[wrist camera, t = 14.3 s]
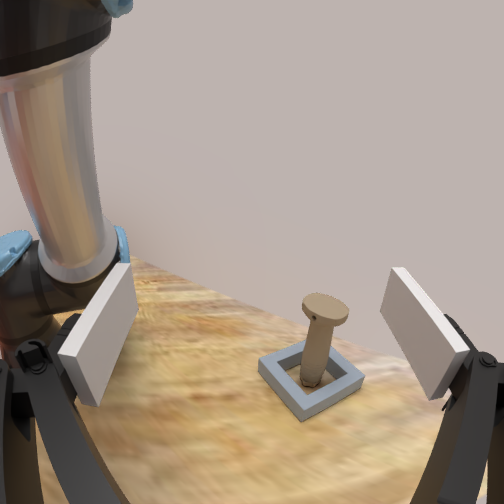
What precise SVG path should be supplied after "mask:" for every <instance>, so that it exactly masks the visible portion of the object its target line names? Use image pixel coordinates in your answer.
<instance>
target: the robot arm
mask: <svg viewBox="0 0 504 504" xmlns="http://www.w3.org/2000/svg"><path fill="white" fill-rule="evenodd" d="M132 8H133V0H0V127H1V130H2V134H3V138H4V141H5V144H6V148H7V151H8V155H9V158H10V161H11V164H12V167H13V170H14V173H15V175H16V179H17V181H18V184H19V187H20V190H21V192H22V195H23V198H24V200H25V203H26V205H27V208H28V210H29V213H30V215H31V217H32V220H33V222H34V224H35V227H36V229H37V231H38V233H39V236H40V240H36V241H33V240H32V236H31V235H30V233H29V232H28V231H26V230H24V231H22V230H19V231H14V232H11V233H8V234H6V235H4V236H1V237H0V350H1V355H2V359H0V504H44V501H43V495H42V489H41V483H40V475H39V467H38V458H37V446H36V430H35V418H36V421H37V425H38V428H39V431H40V434H41V437H42V440H43V442H44V445H45V448H46V451H47V453H48V456H49V459H50V461H51V464H52V466H53V469H54V471H55V473H56V476H57V478H58V480H59V483H60V485H61V487H62V489H63V491H64V493H65V496H66V498H67V500H68V502H69V504H130V503H129V501H128V500H127V498H126V497H125V495H124V494H123V492H122V491H121V489H120V488H119V486H118V484H117V483H116V481H115V480H114V478H113V476H112V475H111V473H110V471H109V470H108V468H107V466H106V464H105V463H104V461H103V459H102V457H101V456H100V454H99V452H98V450H97V448H96V446H95V444H94V442H93V441H92V439H91V437H90V435H89V433H88V431H87V429H86V427H85V424H84V422H83V420H82V418H81V416H80V414H79V412H78V409H77V407H76V405H75V403H74V401H75V398H76V396H77V395H78V397H79V399H80V401H81V403H82V404H85V405H90V406H95V407H99V405H100V402H101V400H102V397H103V394H104V392H105V389H106V387H107V384H108V381H109V379H110V376H111V374H112V371H113V369H114V366H115V364H116V361H117V359H118V356H119V354H120V352H121V349H122V347H123V344H124V342H125V340H126V337H127V335H128V333H129V330H130V328H131V326H132V323H133V321H134V319H135V317H136V314H137V312H138V310H139V309H138V303H137V298H136V292H135V287H134V281H133V274H132V268H131V263H130V256H129V248H128V242H127V237H126V233H125V231H124V229H123V228H121V227H119V226H113V224H112V223H111V221H110V220H109V219H108V218H107V217H106V216H104V215H103V214H102V210H101V204H100V197H99V190H98V182H97V174H96V166H95V156H94V147H93V133H92V120H91V97H90V96H91V95H90V57H91V55H92V54H93V53H94V52H95V51H96V50H97V49H98V48H99V47H101V46H102V45H103V44H104V43H105V42H106V41H107V40H108V38H109V36H110V31H111V20H112V17H113V18H119V17H120V16H121V15H123V14H127V13H129V12H130V11H131V10H132ZM82 309H85V310H84V312H83V313H82V314H77V313H74V314H73V315H72V316H70V317H69V318H68V319H67V320H66V321H65V322H64V324H63V325H62V326H61V325H60V324H59V323H58V321H57V320H56V319H55V318H54V316H53V314H58V313H64V312H70V311H76V310H82ZM380 312H381V314H382V316H383V317H384V319H385V321H386V323H387V324H388V326H389V328H390V329H391V331H392V333H393V335H394V336H395V338H396V340H397V342H398V344H399V345H400V347H401V349H402V351H403V352H404V354H405V356H406V358H407V360H408V362H409V364H410V365H411V367H412V369H413V371H414V373H415V375H416V377H417V378H418V380H419V382H420V384H421V386H422V388H423V390H424V392H425V394H426V396H427V398H428V400H429V401H430V400H434V399H438V398H442V397H443V396H444V394H445V393H446V391H447V390H448V388H449V389H450V391H451V392H452V394H451V396H450V397H449V399H448V400H447V402H446V404H445V405H444V406H443V408H442V411H444V409H445V408H446V410H445V414H444V417H443V420H442V423H441V427H440V430H439V433H438V436H437V439H436V442H435V444H434V447H433V450H432V453H431V455H430V458H429V461H428V463H427V466H426V468H425V471H424V473H423V475H422V478H421V480H420V482H419V485H418V487H417V489H416V491H415V493H414V496H413V498H412V500H411V502H410V504H476V501H477V497H478V494H479V490H480V487H481V483H482V479H483V475H484V471H485V467H486V462H487V458H488V480H487V503H486V504H504V363H498V362H497V360H496V358H494V357H493V356H492V355H491V354H489V353H487V352H478V350H477V349H476V348H475V347H474V345H473V344H472V342H471V341H470V340H469V338H468V337H467V336H466V335H465V334H464V332H463V331H462V329H460V327H459V326H458V324H457V323H456V322H455V321H454V320H453V319H452V318H451V317H449V316H448V315H447V314H442V312H441V311H440V310H439V309H438V308H437V306H436V305H435V304H434V303H433V301H432V300H431V299H430V298H429V297H428V295H427V294H426V293H425V292H424V290H423V289H422V288H421V287H420V286H419V285H418V283H417V282H416V281H415V280H414V279H413V278H412V276H411V275H410V274H409V273H408V272H407V271H406V269H405V268H403V267H402V268H401V267H398V268H397V267H392V268H391V272H390V276H389V280H388V283H387V287H386V291H385V295H384V298H383V302H382V306H381V309H380Z"/></svg>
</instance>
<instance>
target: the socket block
mask: <svg viewBox="0 0 504 504" xmlns="http://www.w3.org/2000/svg"><path fill="white" fill-rule="evenodd" d="M305 342H306V340H304V341H302V342H299V343H297V344H294V345H292V346H289V347H287V348H284V349H282V350H279V351H277V352H274V353H271V354H269V355H266V356H264V357H261V358H259V362H258V372H259V373H260V374H261V376H262V377H263V378H264V379H265V380H266V382H267V383H268V384H269V385H270V386H271V388H272V389H273V390H274V391H275V392H276V394H277V395H278V396H279V397H280V398H281V400H282V401H283V402H284V403H285V404H286V405H287V407H288V408H289V409H290V410H291V411H292V412H293V414H294V415H295V416H296V417H297V418H298V419H299V420H300V422H302V421H304V420H306V419H308V418H309V417H311V416H313V415H315V414H317V413H319V412H321V411H322V410H324V409H326V408H328V407H329V406H331V405H333V404H335V403H336V402H338V401H340V400H341V399H343V398H345V397H346V396H348V395H350V394H351V393H353V392H355V391H356V390H358V389H359V388H361V385H362V383H363V380H364V378H365V375H364V374H363V373H362V372H361V371H359V370H358V369H357V368H356V367H355V366H354V365H352V364H351V363H350V362H349V361H348V360H347V359H345V358H344V357H343V356H342V355H341V354H340V353H339V352H337V351H336V350H335V349H334V348H333V347H332V346H330V352H329V358H328V362H327V365H326V368H325V369H326V370H327V371H328V372H329V373H330V374H332V375H333V376H334V377H335V378H336V379H337V380H335V381H333V382H332V383H330V384H328V385H326V386H324V387H322V388H320V389H318V390H316V391H315V392H313V393H311V394H309V395H306V393H305V392H304V391H303V390H302V389H301V388H300V387H299V386H298V385H297V384H296V383H295V382H294V381H293V379H292V378H291V377H290V376H289V375H288V374H287V373H286V372H285V371H284V370H287V369H289V368H291V367H294V366H296V365H298V364H300V363H301V359H302V353H303V349H304V346H305Z"/></svg>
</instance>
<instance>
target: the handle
mask: <svg viewBox="0 0 504 504" xmlns="http://www.w3.org/2000/svg"><path fill="white" fill-rule="evenodd" d="M302 310H303V312H304V313H305V314H306V316H307V317H308V318H309V319H310V326H309V331H308V335H307V339H306V342H305V346H304V349H303V353H302V359H301V369H300V370H301V373H300V380H302V384H303V385H304V386H310V387H315V386H316V384H318V383H319V382H320V380H321V378H322V375H323V373H324V371H325V368H326V365H327V362H328V358H329V352H330V346H331V340H332V334H333V328H334V326H339V325H341V324H343V323H344V322H345V321H346V319H347V317H348V314H349V308H348V307H347V306H346V305H345V304H344V303H343V302H341V301H340V300H338V299H336V298H334V297H332V296H329V295H325V294H320V293H312V294H309V295H307V296H306V297H305V298H304V299H303V303H302Z"/></svg>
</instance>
